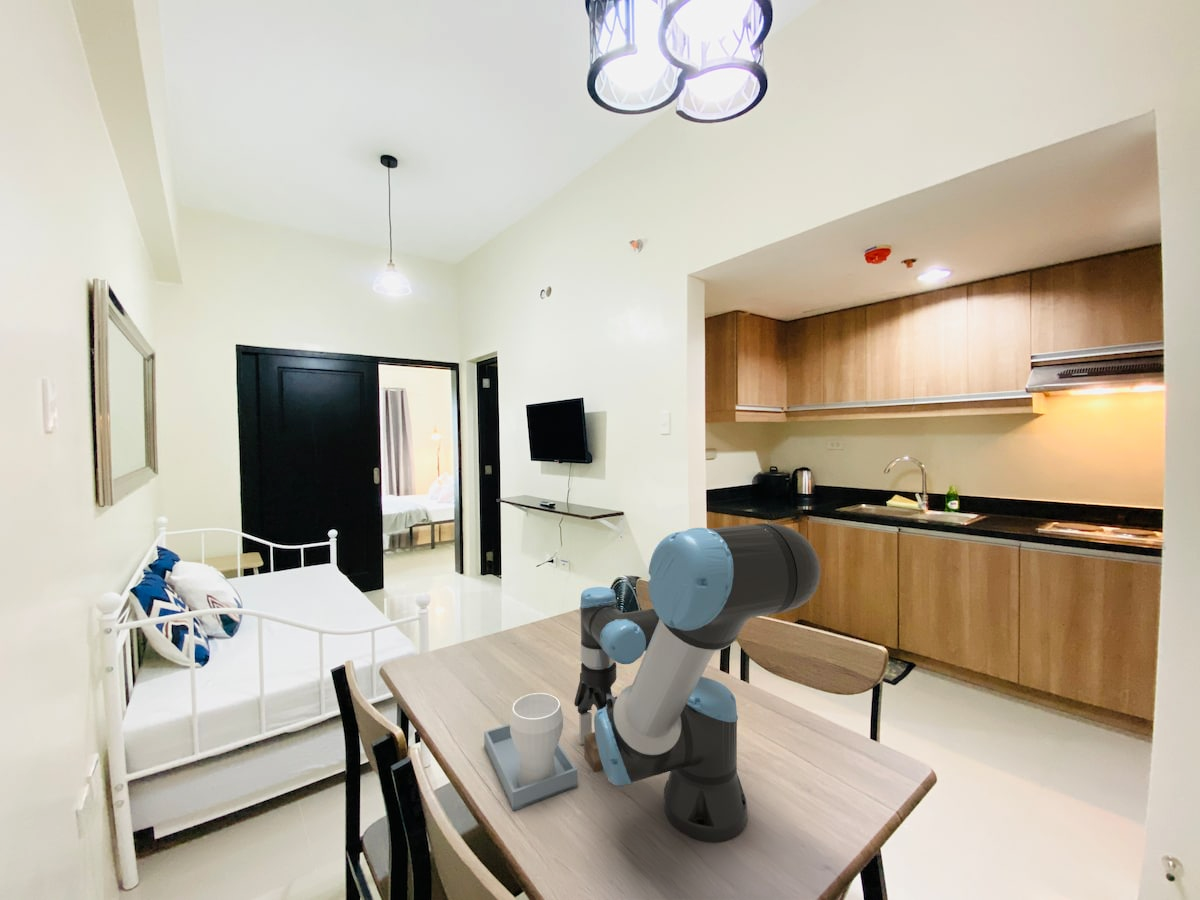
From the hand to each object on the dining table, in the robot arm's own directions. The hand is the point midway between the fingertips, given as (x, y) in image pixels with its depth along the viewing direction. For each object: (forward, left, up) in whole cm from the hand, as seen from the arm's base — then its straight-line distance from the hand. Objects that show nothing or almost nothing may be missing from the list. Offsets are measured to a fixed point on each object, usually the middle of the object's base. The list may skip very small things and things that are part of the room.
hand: (599, 759), depth 103 cm
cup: (0, +14, 0) cm, 14 cm away
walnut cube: (0, 0, 0) cm, 0 cm away
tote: (+6, +14, 0) cm, 15 cm away
